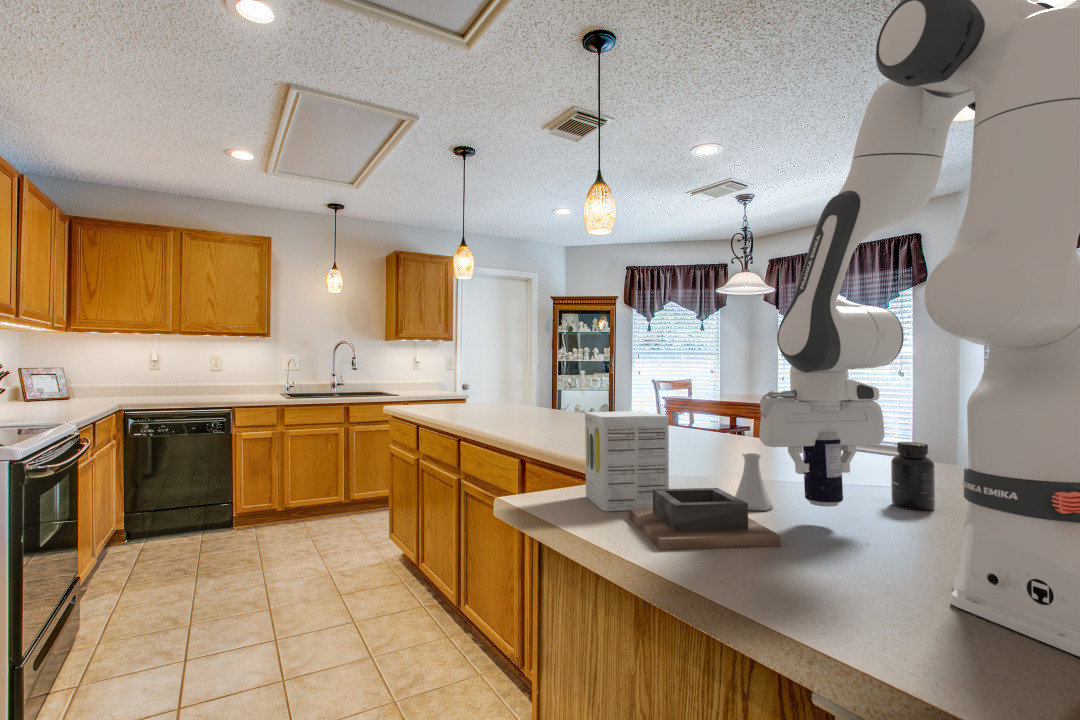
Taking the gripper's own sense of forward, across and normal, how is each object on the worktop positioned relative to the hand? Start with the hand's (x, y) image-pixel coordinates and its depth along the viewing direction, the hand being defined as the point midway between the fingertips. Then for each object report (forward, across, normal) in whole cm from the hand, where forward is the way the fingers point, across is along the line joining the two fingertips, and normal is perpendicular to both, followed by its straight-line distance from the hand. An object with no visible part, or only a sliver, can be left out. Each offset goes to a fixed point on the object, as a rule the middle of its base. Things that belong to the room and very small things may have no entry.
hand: (822, 473), depth 92 cm
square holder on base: (+8, -22, -1) cm, 24 cm away
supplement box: (+8, -29, +19) cm, 36 cm away
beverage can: (+5, 0, 0) cm, 5 cm away
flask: (+8, -6, +13) cm, 17 cm away
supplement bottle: (+9, +24, +10) cm, 27 cm away
